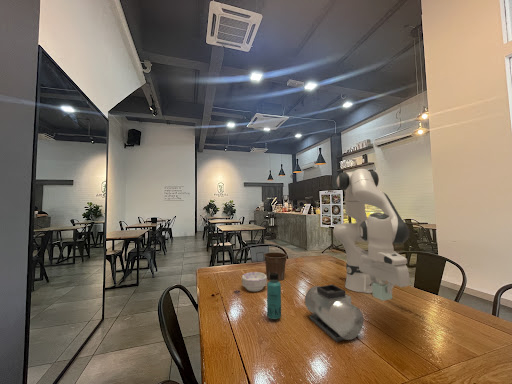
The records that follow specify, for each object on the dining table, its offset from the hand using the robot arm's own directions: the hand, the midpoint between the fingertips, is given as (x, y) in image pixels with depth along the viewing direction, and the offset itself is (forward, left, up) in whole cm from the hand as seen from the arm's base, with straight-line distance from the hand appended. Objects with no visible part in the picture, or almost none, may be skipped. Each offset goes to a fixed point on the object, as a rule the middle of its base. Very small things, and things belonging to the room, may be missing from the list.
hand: (382, 290), depth 87 cm
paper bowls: (+32, -63, -17) cm, 73 cm away
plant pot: (+12, -76, -17) cm, 79 cm away
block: (0, 0, -3) cm, 3 cm away
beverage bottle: (+35, -26, -17) cm, 47 cm away
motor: (+15, -14, -17) cm, 27 cm away
